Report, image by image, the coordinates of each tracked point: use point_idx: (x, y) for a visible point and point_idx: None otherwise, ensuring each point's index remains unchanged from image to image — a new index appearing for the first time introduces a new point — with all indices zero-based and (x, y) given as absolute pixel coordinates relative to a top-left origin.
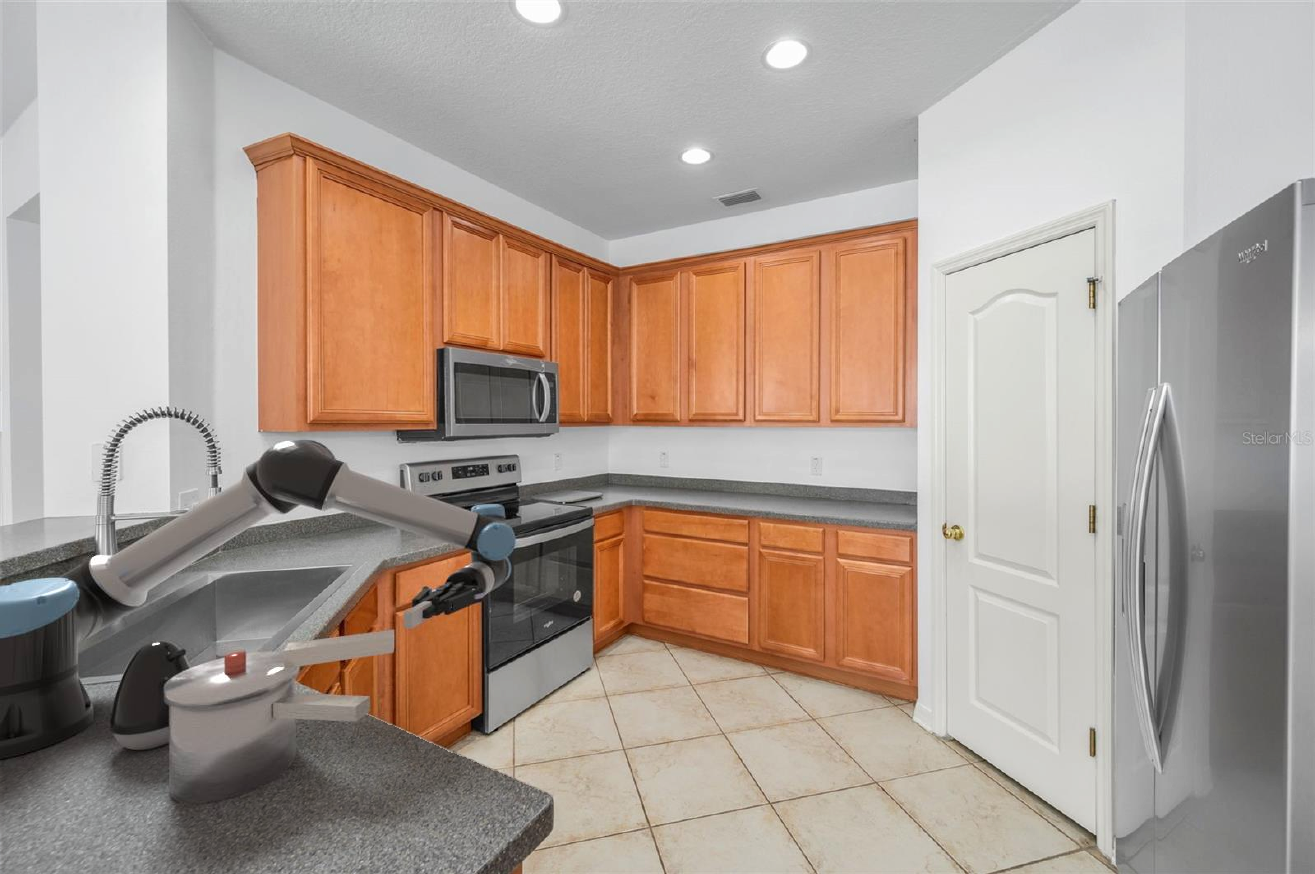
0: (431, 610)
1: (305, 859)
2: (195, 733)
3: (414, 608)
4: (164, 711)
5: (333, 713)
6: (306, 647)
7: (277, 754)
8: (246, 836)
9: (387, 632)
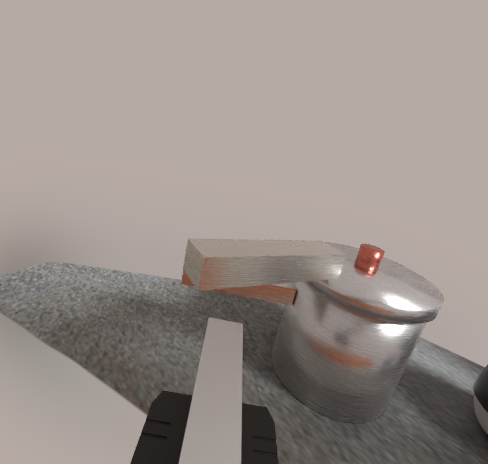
0: (146, 420)
1: (176, 281)
2: None
3: (224, 358)
4: (484, 375)
5: None
6: (302, 241)
7: (277, 334)
8: (232, 300)
9: (210, 250)
